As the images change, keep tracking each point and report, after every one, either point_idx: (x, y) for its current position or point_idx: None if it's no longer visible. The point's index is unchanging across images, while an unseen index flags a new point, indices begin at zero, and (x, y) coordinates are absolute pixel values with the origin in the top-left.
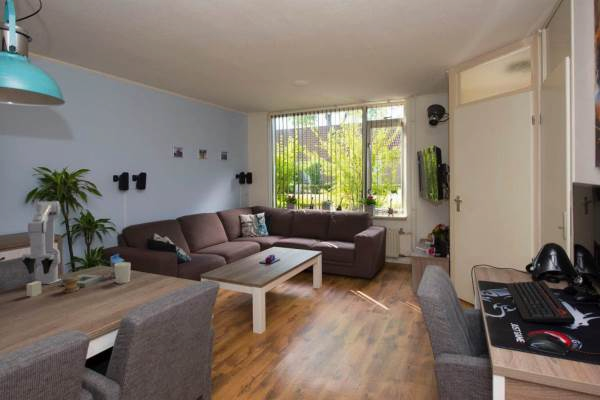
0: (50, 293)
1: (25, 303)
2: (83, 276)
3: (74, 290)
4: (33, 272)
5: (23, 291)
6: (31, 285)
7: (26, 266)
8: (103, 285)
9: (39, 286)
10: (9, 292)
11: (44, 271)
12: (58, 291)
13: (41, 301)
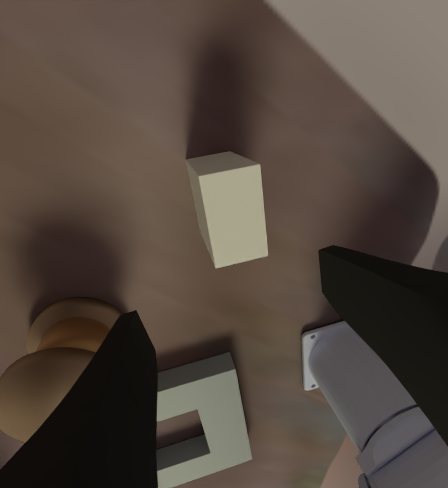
0: (145, 252)
1: (70, 19)
2: (209, 453)
3: (27, 338)
4: (322, 290)
5: (338, 209)
6: (204, 173)
7: (435, 273)
8: (6, 452)
9: (206, 236)
10: (399, 165)
11: (109, 335)
12: (138, 293)
13: (2, 109)
